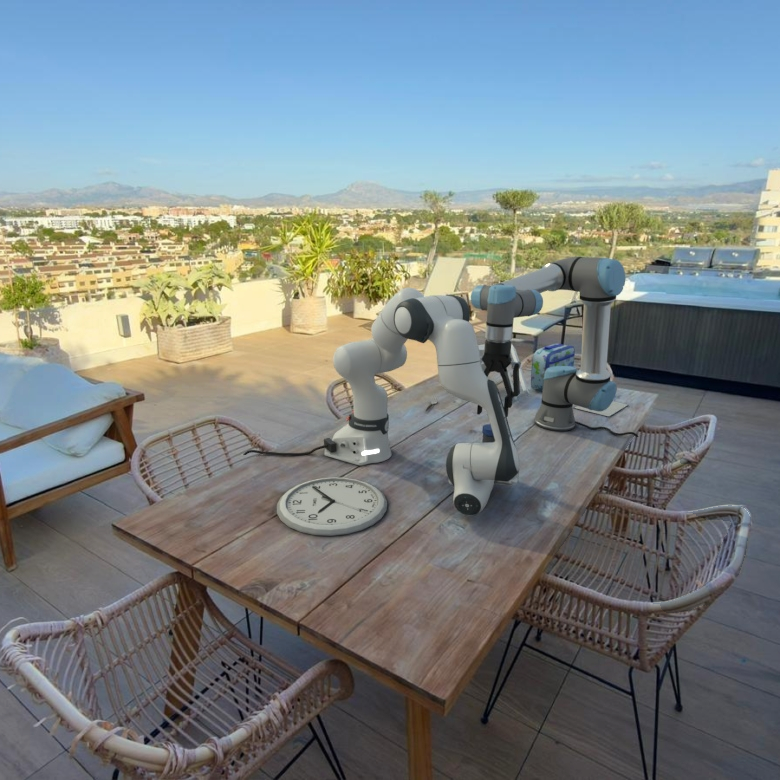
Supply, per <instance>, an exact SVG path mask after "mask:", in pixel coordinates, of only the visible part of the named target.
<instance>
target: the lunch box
mask: <svg viewBox="0 0 780 780" xmlns="http://www.w3.org/2000/svg"><path fill="white" fill-rule="evenodd" d="M575 352H576V351H575V346H573V345H568V344H562V343H553V344H550V345H547V346H546V345H545V346H544V347H541V348H538V349H537V350H536V351H535V352H534V354H533V357H532V362H531V371H530V372H531V374H530V387H531V389H533V390H539V391H543V382H544V379H543V378H544V374H545V371H546V369H547V368H550V367H554V366H572V367H574V363H575Z"/></svg>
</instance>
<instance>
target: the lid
mask: <svg viewBox="0 0 780 780" xmlns="http://www.w3.org/2000/svg"><path fill="white" fill-rule="evenodd" d="M481 432H482V433H481V434H482V435H483V434H484V435H487V436H494V435H493V431H492V428H491V424H490V423H487V424H483V425H482V428H481Z"/></svg>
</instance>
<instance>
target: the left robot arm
mask: <svg viewBox="0 0 780 780" xmlns="http://www.w3.org/2000/svg"><path fill="white" fill-rule="evenodd" d="M470 319H471V309H470V306H469V304H468V302H467V301H466V299H465V298H463V297H462V296H459V295H455V294H445V295H444V294H443V295H442V294H436V295H435V294H434V295H427V296H425V295H424V294H423V293H422V291H421V292H420V290H418V289H416V288H413V287H404V288H401V289H400V290H399V291H397V292H396V293H395V294H394V295H393V296H392V297H391V298H390V299H389V300H388V302H386V304H385V305H384V307H383V308H382V310H381V311H380V313H379V314H378V315H377V317H376V318H375V319H374V321H373V322H372V324H371V326H370V327H371V328H370V332H371V333H370V334H371V337H372V338H370V339H366V340H358V341H352V342H348V343H345V344H343V345H340V346H338V347H337V348H336V349H335V350H334V353H333V356H332V364H333V367H334V370H335V372H336V373H337V374H338V375H339V376H340V377H342V378H343V379H344V380H345V381H346V382H347V383H348V384H349V386H350V389H351V392H352V401H353V403H352V404H353V410H352V411H351V413H350V414H349V415H348V416H347V417H346V422H348V423H346V424H345V425H343V427H341V428H339V429H338V430H337V431H336V432H335V433H334V434H333V436H332V439H331V438H330V437H326V438H323V445H320V446H317V447H315V448H313V449H311V450H310V451H306V452H305V451H304V452H277V451H264V450H258V449H249V450H247V451H245V452H243V454H242V455H243V456H247V455H248V454H250V453H255V454H261V455H275V456H295V457H296V456H297V457H298V456H307V455H310V454H313V453H315V452H316V451H318V450H321V449H324V456H325V457H329V458H332V459H335V460H338V461H342V462H346V463H348V464H353V465H357V466H365V465H369V464H377V463H381V462H385V461H387V460H390V458H391V457H392V455H393V453H392V450H391V446H390V440H389V430H390V417H389V414H388V413H389V412H388V407H389V406H388V401H389V400H388V397H389V395H388V392H387V390H386V389H385V388H384V387H383V386H382V385H380V384H378V383H376V380H375V375H377V374H384V373H388V372H392V371H394V370H397V369H399V368H401V367H403V366H404V365H405V364H406V361H407V359H408V358H407V357H408V349H407V347H406V345H405V344H406V343H407V341H408V340H411V341H416V342H418V343H421V344H425V343H427V341H429V342H431V343H432V344H433V345H434V348H435V353H436V365H437V375H438V379H439V383H440V385H441V386H442V388H443V389H444V390H445V391H446V392H447V393H449V394H450V395H451V396H453V397H455V398H458V399H461V400H464V401H468V402H470V403H473V404H475V405H477V406H478V405H479V406H481V407H482V410H484V411H485V412H486V414H487V417H488V420H489V424H491V428H492V431H493V435H494V439H495V442H489V443H482V442H456V443H454V445H452V447H451V448H450V450H449V452H448V453H447V455H446V461H445V469H446V475H447V478H448V484H449V485H452V486H453V487H454V488H453V489H454V490H453V497H452V503H453V506H454V508H455V510H456V511H457V512H459V513H460V514H462V515H465V516H476V515H478V514H480V513H481V512H482V511H483V510H484V509H485V507H486V505H487V504H488V501H489V499H490V496H491V493H492V491H493V488H494V486H495V485H500V486H506V487H507V486H508V487H511V486H514V485H517V484H518V482H519V477H520V467H521V459H520V454H519V452H518V450H517V447H516V444H515V442H514V438H513V435H512V432H511V428H510V423H509V421H508V417H506V413H505V410H504V403H503V399H502V397H501V394H500V391H499V388H498V386H497V384H496V383H495V381H494V380H492V379H490V378H488V377H487V376H486V375H485V373H484V372H483V369H482V366H481V361H480V352H479V347H478V345H479V343H478V340H477V339H478V338H477V335H476V331H475V328H474V326H473V324H472V323H471V322H470Z"/></svg>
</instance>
